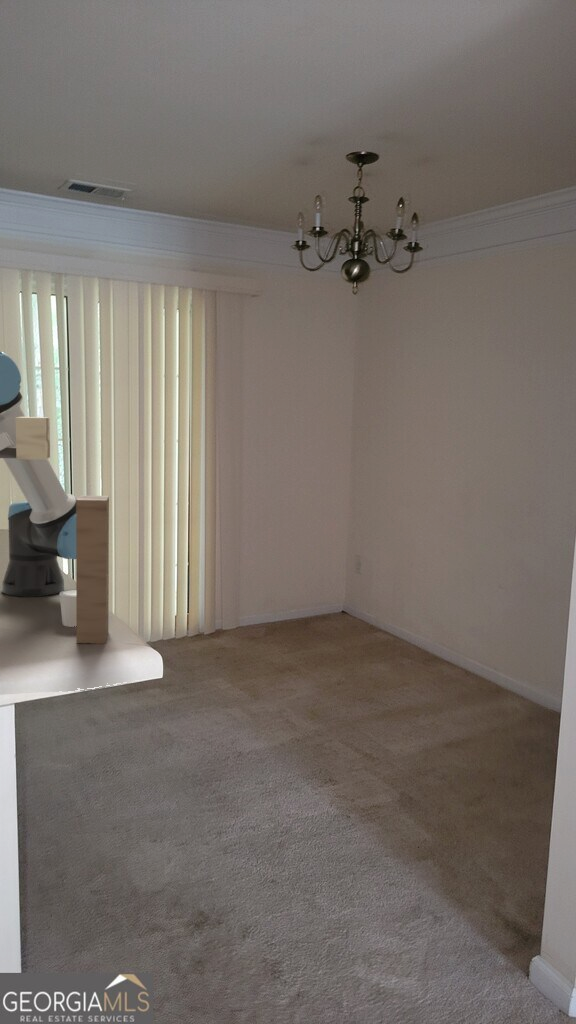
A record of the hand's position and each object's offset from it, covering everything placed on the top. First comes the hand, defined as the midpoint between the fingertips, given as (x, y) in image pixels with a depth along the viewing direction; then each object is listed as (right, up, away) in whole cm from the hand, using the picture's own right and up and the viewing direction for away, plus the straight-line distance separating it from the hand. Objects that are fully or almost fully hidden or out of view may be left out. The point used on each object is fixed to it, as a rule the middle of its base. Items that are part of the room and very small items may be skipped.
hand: (8, 438), depth 151 cm
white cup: (+8, -39, +18) cm, 44 cm away
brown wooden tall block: (+15, -40, +8) cm, 44 cm away
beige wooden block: (0, -4, +1) cm, 4 cm away
